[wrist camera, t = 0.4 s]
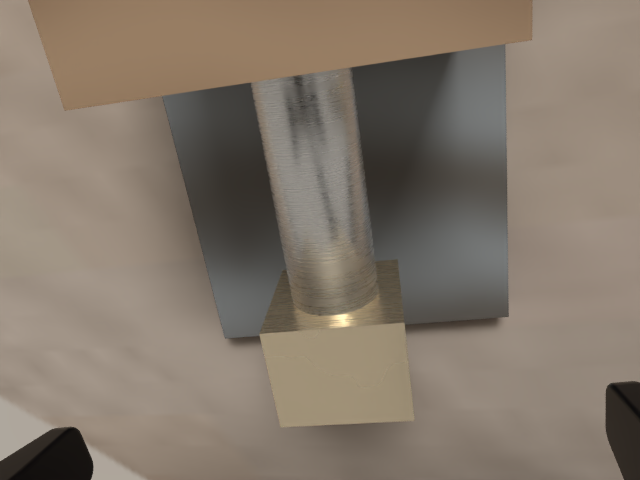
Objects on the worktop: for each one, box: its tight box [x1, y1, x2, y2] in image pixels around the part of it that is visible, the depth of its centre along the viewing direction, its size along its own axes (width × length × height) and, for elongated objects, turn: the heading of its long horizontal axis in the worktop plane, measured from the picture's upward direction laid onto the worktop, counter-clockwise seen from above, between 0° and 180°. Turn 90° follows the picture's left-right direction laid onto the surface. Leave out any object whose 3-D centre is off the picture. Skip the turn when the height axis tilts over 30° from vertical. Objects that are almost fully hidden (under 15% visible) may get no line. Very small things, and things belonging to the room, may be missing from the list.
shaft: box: [251, 67, 414, 427], centre depth 12 cm, size 18×4×4 cm, turn 8°
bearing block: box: [28, 0, 532, 338], centre depth 13 cm, size 25×12×10 cm, turn 8°
